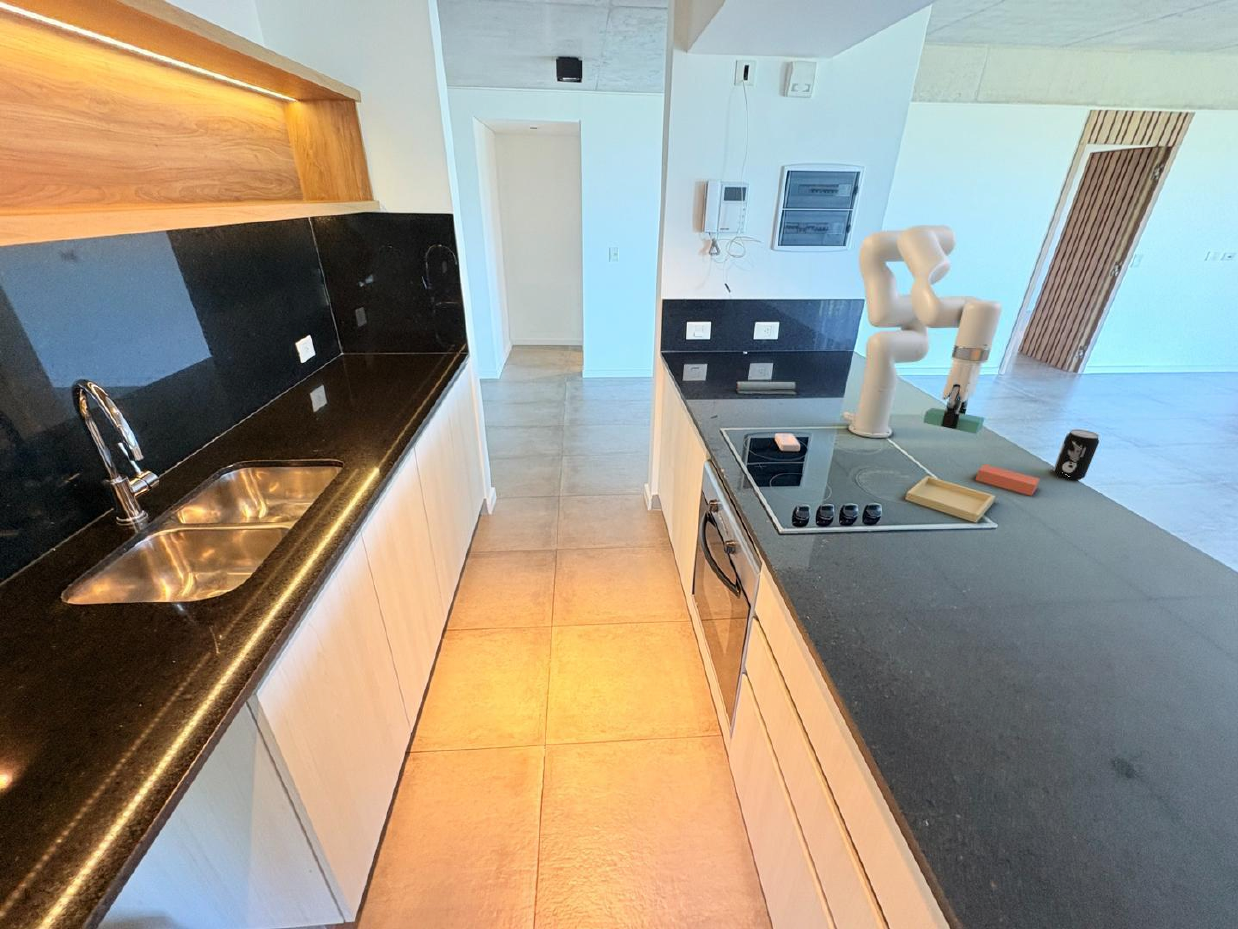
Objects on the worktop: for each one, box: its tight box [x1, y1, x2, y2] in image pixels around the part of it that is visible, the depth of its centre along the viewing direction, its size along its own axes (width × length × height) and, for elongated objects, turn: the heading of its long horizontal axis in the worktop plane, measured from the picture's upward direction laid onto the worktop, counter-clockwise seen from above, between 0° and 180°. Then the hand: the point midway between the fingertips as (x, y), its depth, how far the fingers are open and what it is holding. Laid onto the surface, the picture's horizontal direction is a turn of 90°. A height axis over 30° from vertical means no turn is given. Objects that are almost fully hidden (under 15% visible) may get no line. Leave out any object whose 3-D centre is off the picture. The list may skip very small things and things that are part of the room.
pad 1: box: [923, 407, 985, 435], centre depth 134 cm, size 12×5×3 cm, turn 44°
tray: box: [904, 475, 996, 524], centre depth 126 cm, size 15×13×2 cm
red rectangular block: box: [975, 464, 1040, 497], centre depth 134 cm, size 12×5×3 cm, turn 43°
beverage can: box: [1052, 428, 1100, 481], centre depth 136 cm, size 7×7×12 cm
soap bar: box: [774, 432, 801, 452], centre depth 157 cm, size 5×9×2 cm, turn 177°
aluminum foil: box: [735, 381, 797, 395], centre depth 207 cm, size 23×7×3 cm, turn 88°
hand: (952, 424), depth 135 cm, fingers closed on pad 1, 5 cm apart
